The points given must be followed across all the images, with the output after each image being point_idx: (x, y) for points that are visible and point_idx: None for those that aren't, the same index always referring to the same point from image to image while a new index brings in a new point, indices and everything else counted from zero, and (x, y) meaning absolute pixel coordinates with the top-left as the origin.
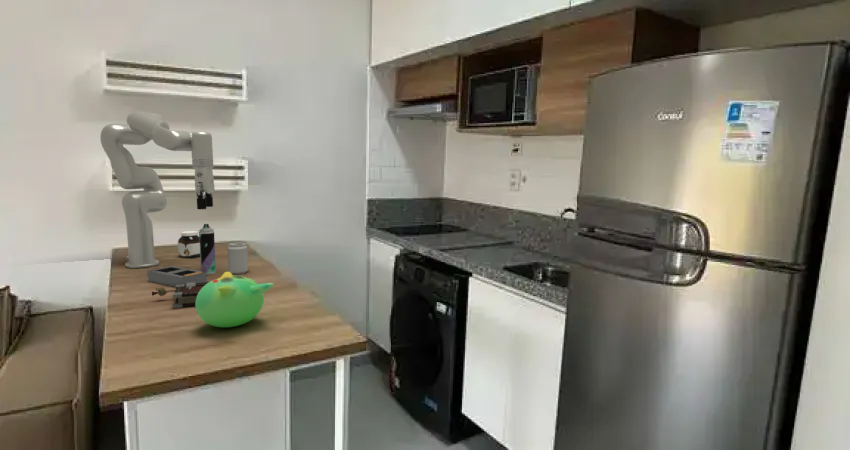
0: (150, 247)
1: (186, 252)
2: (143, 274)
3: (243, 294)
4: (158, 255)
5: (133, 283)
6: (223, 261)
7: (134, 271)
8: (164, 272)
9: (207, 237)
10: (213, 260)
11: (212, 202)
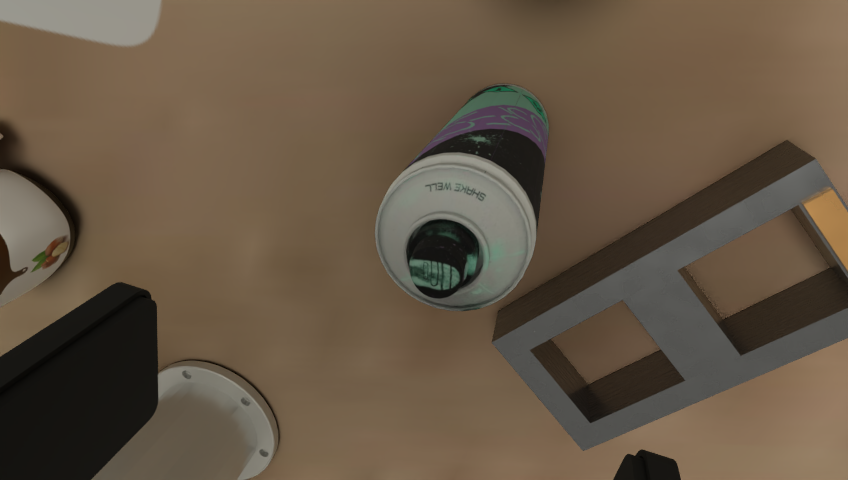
0: (179, 454)
1: (52, 254)
2: (416, 421)
3: None
4: None
5: (598, 462)
6: (175, 36)
7: (340, 448)
8: (677, 386)
9: (538, 210)
10: (530, 112)
11: (80, 332)
